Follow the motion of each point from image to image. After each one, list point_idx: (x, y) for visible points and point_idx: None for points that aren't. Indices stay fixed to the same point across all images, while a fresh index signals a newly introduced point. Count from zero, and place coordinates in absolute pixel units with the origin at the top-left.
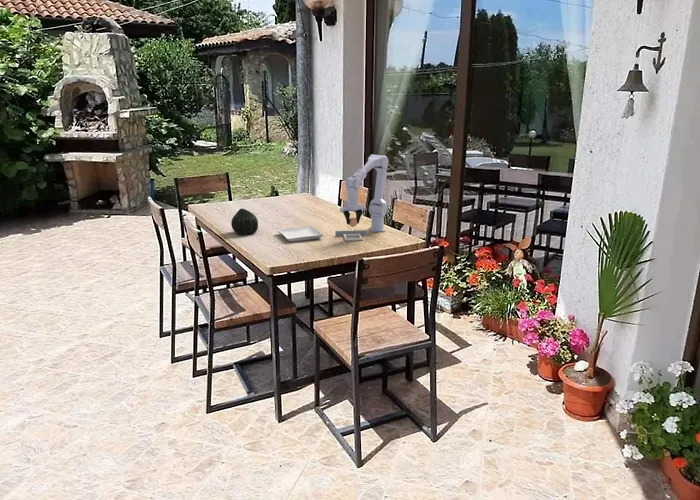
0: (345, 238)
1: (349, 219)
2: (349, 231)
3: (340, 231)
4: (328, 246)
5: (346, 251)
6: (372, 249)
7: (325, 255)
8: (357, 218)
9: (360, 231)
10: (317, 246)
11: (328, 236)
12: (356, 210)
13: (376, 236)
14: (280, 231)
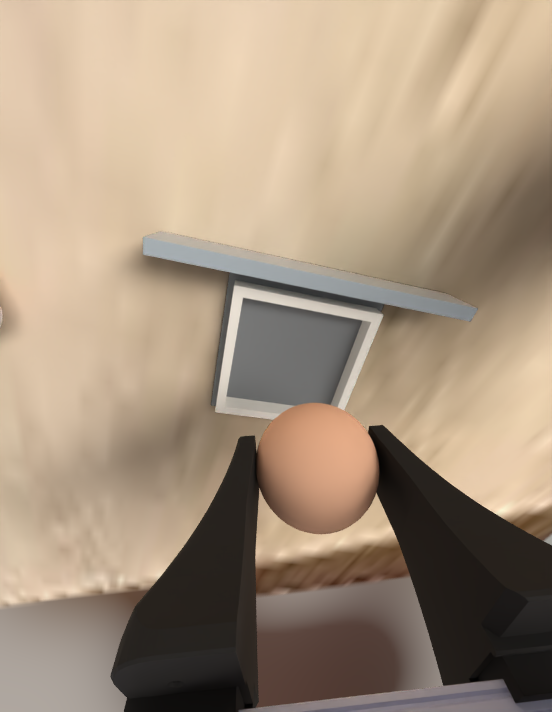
0: (215, 411)
1: (273, 499)
2: (301, 286)
3: (202, 265)
4: (83, 470)
5: (178, 543)
6: (310, 538)
7: (67, 567)
8: (396, 509)
9: (406, 307)
10: (5, 458)
11: (84, 220)
12: (457, 700)
13: (486, 347)
14: None
